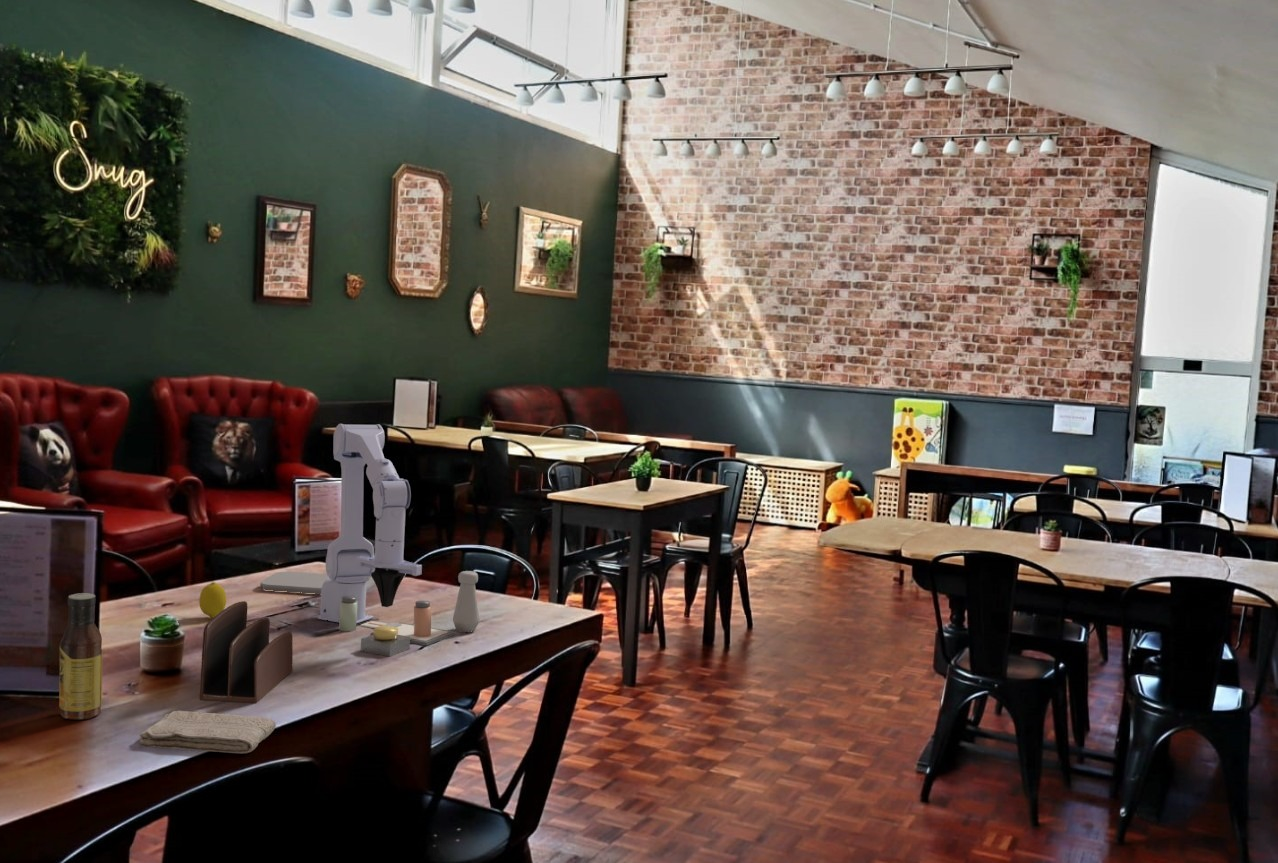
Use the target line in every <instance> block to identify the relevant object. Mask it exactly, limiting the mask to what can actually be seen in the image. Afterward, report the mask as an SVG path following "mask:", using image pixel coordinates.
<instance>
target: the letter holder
mask: <svg viewBox="0 0 1278 863" xmlns="http://www.w3.org/2000/svg"><path fill="white" fill-rule="evenodd" d="M247 619H248V602H247V600H246V601H245V600H244V601H238V602H235V603H233V604H231V605H229V606H227V607H225V608H224V610H223V611H221V612H220V613H219V614H217V615H216V616H215V617H214V618H210V620H209V621H208V622H207V623H206V624H205V627H204V629H203V633H202V635H203V636H202V650H201V665H200V666H201V668H200V684H199V685H200V688H199V690H200V691H199V700H200V701H212V702H213V701H214V702H229V703H242V704H243V703H244V704H246V703H247V704H257V703H259V701H260V700H261V699H263V698H264V697H265V696H266V695H267V694H268V693H269V692H271V691H272V690H273V689H274V688H275V687H276V686H277V685H279V684H280V683H281V682H282V681H283V680H285V678H287V677H288V676H289V674H291V673H292V672H293V667H294V666H293V661H294V660H293V659H294V658H293V656H294V655H293V654H294V653H293V647H294V646H293V634H292V633H293V632H292V631H286V632H283V633H281V634H280V635H278V636H276V637H275V638H273V640H272V639H271V641H270V629H271V627H270V626H271V621H270V618H269V617H264V618H260V619H258V620H256V621H254V622H252V623H250V624H249V625H247V623H248V622H247V621H248V620H247Z"/></svg>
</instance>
